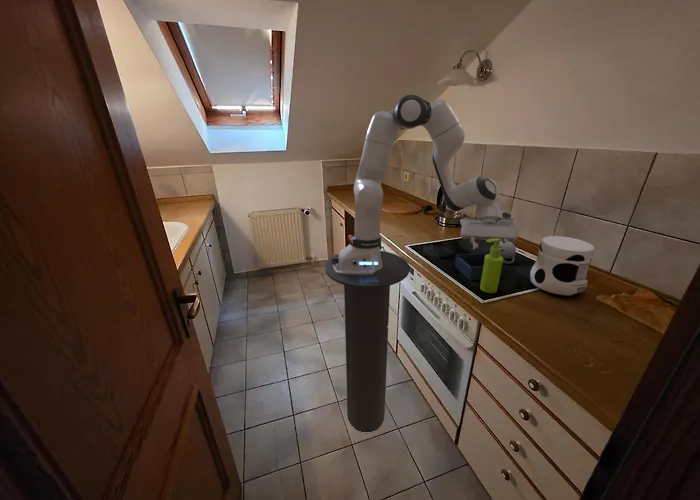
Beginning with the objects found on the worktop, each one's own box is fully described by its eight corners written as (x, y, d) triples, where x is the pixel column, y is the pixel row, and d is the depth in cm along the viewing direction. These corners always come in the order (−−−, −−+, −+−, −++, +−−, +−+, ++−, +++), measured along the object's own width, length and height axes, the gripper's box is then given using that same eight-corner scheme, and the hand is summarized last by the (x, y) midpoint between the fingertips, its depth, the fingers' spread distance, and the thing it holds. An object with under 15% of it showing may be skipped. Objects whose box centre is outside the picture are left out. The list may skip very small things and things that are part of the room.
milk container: (528, 273, 122) (538, 232, 115) (580, 283, 114) (594, 239, 107) (527, 292, 108) (538, 246, 101) (586, 305, 100) (602, 256, 93)
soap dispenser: (474, 286, 113) (482, 237, 105) (490, 284, 114) (499, 235, 106) (483, 294, 108) (492, 242, 100) (500, 292, 109) (510, 241, 101)
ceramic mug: (488, 255, 140) (491, 240, 136) (504, 254, 140) (507, 239, 137) (501, 265, 130) (504, 249, 127) (518, 264, 131) (522, 248, 128)
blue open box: (469, 280, 117) (471, 267, 115) (454, 266, 129) (456, 254, 127) (500, 278, 119) (502, 265, 117) (482, 264, 131) (484, 252, 129)
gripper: (461, 212, 117) (461, 244, 112) (518, 215, 113) (520, 248, 108) (459, 220, 123) (458, 251, 118) (513, 222, 119) (515, 254, 114)
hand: (488, 249), depth 113 cm, fingers open, 8 cm apart
